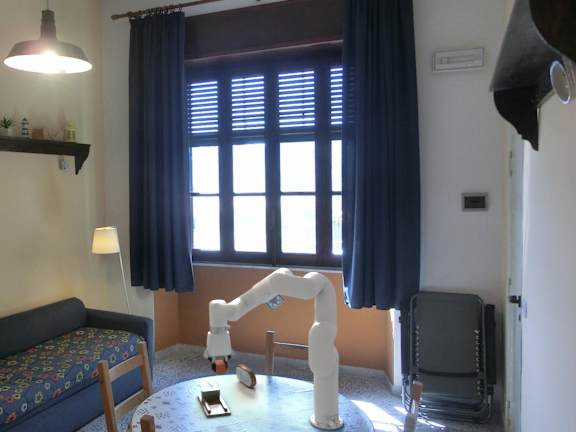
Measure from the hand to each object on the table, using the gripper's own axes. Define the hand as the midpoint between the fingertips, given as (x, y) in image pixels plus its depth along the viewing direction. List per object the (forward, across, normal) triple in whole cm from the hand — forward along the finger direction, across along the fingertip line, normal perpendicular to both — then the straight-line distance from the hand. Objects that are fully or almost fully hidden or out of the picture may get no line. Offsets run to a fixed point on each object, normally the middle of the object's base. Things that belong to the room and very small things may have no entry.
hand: (219, 370), depth 216 cm
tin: (+16, -17, -18) cm, 29 cm away
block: (0, 0, 0) cm, 0 cm away
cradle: (+15, +3, 0) cm, 16 cm away
